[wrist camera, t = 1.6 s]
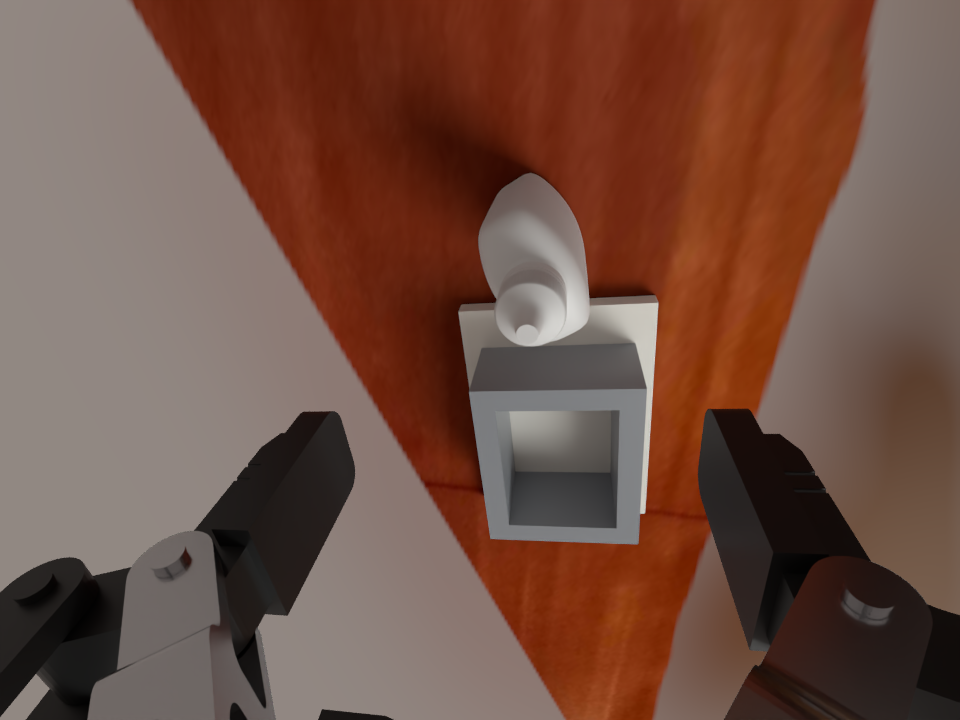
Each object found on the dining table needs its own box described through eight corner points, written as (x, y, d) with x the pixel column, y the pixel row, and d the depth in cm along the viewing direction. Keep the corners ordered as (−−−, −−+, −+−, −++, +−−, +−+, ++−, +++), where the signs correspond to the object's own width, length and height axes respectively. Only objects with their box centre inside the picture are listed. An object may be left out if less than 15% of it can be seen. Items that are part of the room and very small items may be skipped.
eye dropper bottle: (502, 280, 28) (465, 407, 17) (496, 172, 25) (448, 247, 15) (584, 279, 27) (596, 410, 17) (587, 167, 24) (604, 243, 14)
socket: (461, 304, 29) (441, 351, 24) (655, 295, 27) (674, 344, 22) (488, 498, 36) (477, 564, 31) (642, 502, 34) (655, 572, 29)
